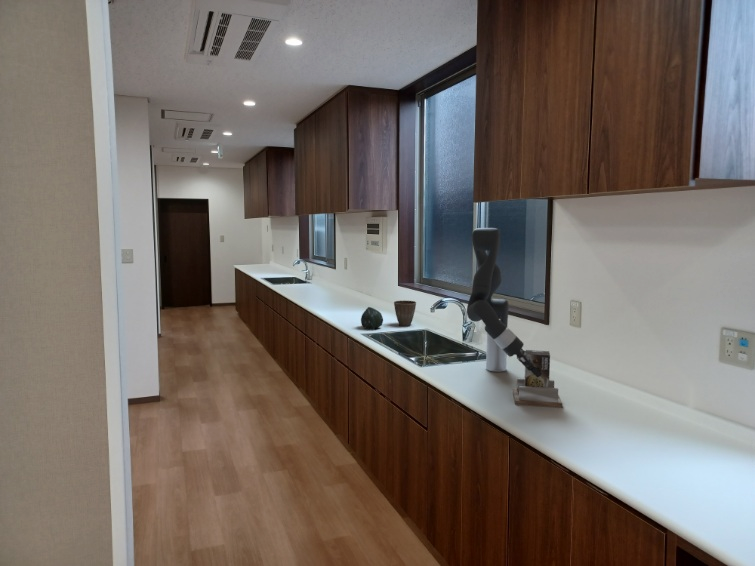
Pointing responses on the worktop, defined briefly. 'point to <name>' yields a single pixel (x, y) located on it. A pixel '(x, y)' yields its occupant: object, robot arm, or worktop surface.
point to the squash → (371, 318)
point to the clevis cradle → (536, 395)
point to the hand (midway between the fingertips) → (538, 373)
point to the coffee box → (542, 364)
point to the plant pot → (404, 312)
